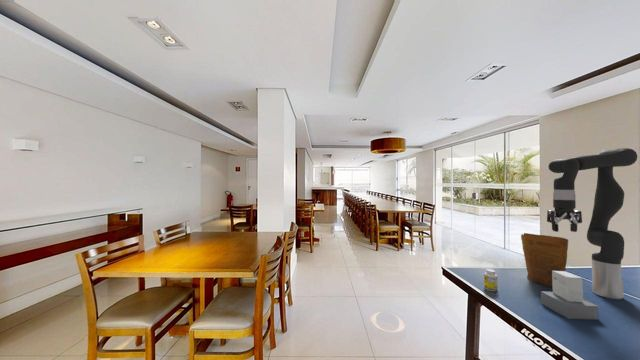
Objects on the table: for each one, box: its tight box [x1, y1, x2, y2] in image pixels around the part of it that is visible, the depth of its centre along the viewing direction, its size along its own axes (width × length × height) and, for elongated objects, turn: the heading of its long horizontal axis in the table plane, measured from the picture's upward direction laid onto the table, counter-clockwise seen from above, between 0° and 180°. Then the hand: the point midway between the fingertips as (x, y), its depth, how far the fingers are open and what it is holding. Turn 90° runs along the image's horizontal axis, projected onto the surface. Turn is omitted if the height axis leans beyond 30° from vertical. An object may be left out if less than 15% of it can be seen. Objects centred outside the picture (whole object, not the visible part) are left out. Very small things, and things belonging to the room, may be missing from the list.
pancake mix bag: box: [520, 232, 569, 288], centre depth 126 cm, size 7×19×28 cm, turn 27°
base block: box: [540, 290, 599, 320], centre depth 99 cm, size 12×12×6 cm
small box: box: [552, 271, 584, 302], centre depth 100 cm, size 8×6×10 cm
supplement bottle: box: [483, 268, 498, 292], centre depth 119 cm, size 6×6×10 cm
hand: (564, 231), depth 110 cm, fingers open, 8 cm apart
